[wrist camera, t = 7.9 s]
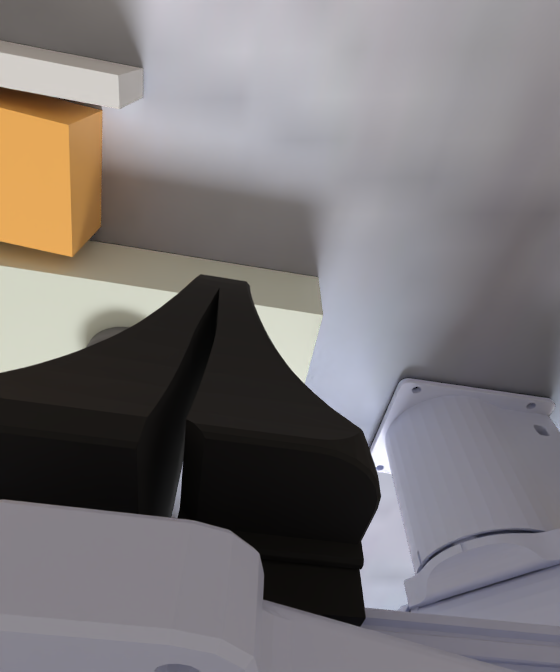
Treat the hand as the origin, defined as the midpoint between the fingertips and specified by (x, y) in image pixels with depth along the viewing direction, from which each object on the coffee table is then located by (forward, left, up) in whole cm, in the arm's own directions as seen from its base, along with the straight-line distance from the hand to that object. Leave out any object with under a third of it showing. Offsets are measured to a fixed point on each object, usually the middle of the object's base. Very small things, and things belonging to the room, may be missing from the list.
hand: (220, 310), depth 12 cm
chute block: (+9, 0, -10) cm, 13 cm away
